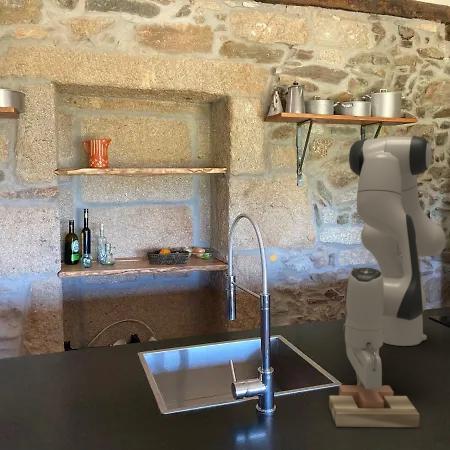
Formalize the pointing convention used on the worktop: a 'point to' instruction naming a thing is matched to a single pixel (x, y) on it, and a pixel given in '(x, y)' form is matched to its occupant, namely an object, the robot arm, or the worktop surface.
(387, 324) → the robot arm
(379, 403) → the t block
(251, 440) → the worktop surface
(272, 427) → the worktop surface
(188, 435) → the worktop surface
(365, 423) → the dock
